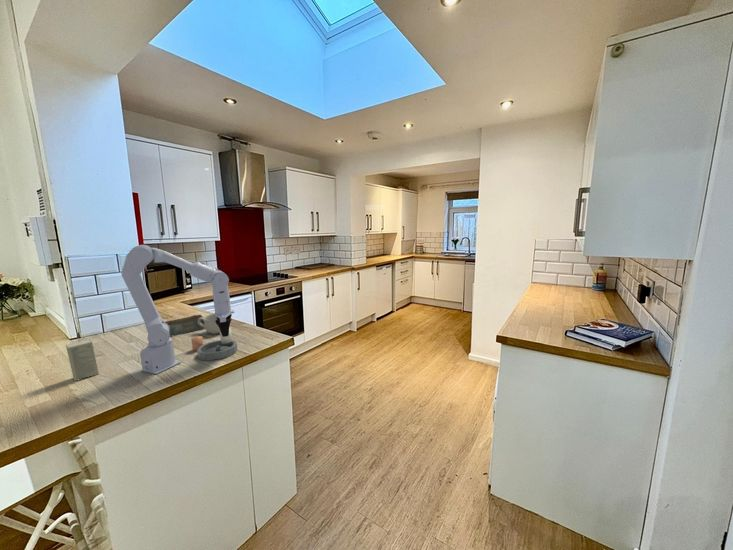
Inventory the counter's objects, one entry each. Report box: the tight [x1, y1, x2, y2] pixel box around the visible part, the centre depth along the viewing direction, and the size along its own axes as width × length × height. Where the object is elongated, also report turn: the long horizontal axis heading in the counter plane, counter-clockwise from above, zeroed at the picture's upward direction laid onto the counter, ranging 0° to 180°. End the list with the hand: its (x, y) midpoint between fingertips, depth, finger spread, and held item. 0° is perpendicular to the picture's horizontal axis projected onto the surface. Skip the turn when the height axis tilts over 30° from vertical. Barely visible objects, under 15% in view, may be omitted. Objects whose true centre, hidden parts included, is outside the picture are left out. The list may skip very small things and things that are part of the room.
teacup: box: [197, 313, 220, 335], centre depth 141 cm, size 14×11×8 cm
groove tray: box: [196, 339, 238, 361], centre depth 117 cm, size 14×14×3 cm
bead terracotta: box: [190, 335, 204, 352], centre depth 121 cm, size 4×4×5 cm
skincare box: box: [65, 338, 100, 381], centre depth 100 cm, size 6×4×12 cm
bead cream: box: [219, 327, 233, 343], centre depth 117 cm, size 4×4×5 cm
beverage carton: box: [164, 314, 206, 337], centre depth 143 cm, size 8×19×7 cm, turn 130°
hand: (225, 334), depth 117 cm, fingers closed on bead cream, 4 cm apart
